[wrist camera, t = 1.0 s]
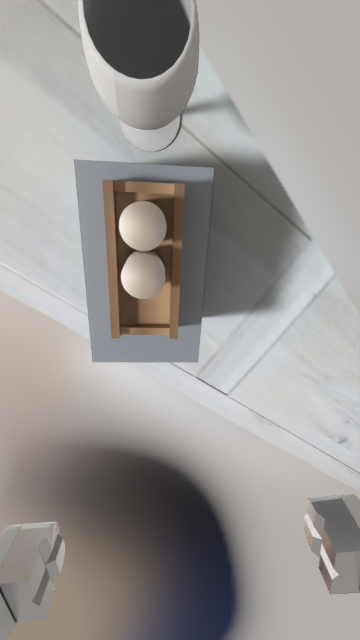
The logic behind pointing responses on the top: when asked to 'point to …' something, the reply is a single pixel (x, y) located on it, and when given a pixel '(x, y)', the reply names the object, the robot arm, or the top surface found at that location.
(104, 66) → the wineglass
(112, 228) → the tray
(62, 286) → the top surface
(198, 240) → the grey cover
